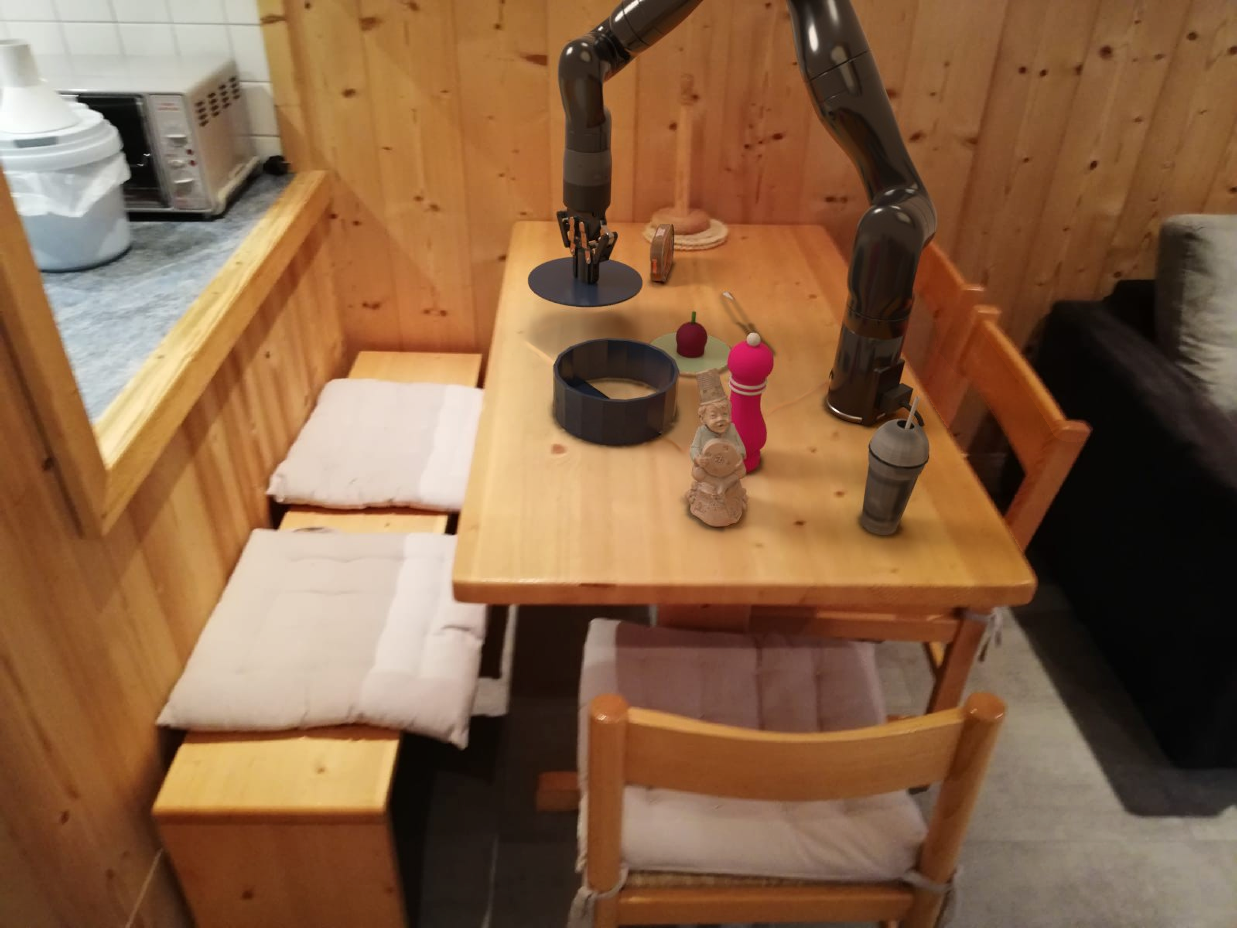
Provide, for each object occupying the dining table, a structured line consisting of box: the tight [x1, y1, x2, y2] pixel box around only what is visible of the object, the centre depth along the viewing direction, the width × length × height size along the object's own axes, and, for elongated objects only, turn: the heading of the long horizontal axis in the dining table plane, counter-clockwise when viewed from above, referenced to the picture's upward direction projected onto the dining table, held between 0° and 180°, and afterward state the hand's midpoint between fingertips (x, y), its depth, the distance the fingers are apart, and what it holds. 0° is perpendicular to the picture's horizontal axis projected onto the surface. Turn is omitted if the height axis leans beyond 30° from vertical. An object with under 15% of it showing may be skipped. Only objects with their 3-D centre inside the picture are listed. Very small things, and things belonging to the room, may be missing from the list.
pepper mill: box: [726, 332, 775, 473], centre depth 122 cm, size 7×7×20 cm
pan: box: [552, 337, 680, 447], centre depth 135 cm, size 18×18×8 cm
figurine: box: [684, 367, 749, 527], centre depth 113 cm, size 9×8×20 cm
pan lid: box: [527, 248, 644, 308], centre depth 149 cm, size 19×19×6 cm
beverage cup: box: [861, 395, 930, 536], centre depth 112 cm, size 7×7×20 cm
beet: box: [676, 310, 708, 358], centre depth 149 cm, size 5×5×7 cm
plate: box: [650, 331, 732, 374], centre depth 151 cm, size 14×14×1 cm
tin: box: [649, 223, 675, 283], centre depth 176 cm, size 15×3×8 cm, turn 168°
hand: (585, 278), depth 150 cm, fingers closed on pan lid, 2 cm apart
